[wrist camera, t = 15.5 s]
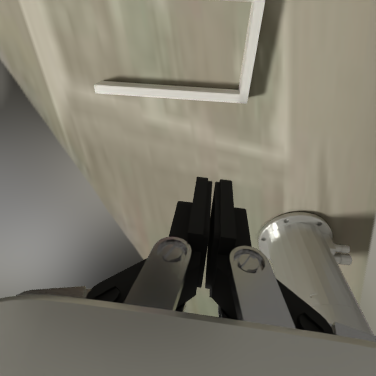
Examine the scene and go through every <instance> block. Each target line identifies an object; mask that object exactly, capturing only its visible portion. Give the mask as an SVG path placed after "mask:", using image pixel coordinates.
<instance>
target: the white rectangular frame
mask: <svg viewBox="0 0 376 376" xmlns="http://www.w3.org/2000/svg"><path fill="white" fill-rule="evenodd" d="M220 1H240V2H252V4H251V10H250V17H249V23H248V30H247V36H246V43H245V50H244V56H243V63H242V69H241V76H240V82H239V89H238V90H234V89H219V88H203V87H188V86H173V85H158V84H143V83H127V82H112V81H100V82H98V83H97V84H95V85H94V87H95V93H100V94H114V95H129V96H144V97H158V98H173V99H187V100H202V101H217V102H231V103H246V104H247V100H248V95H249V89H250V83H251V78H252V72H253V67H254V61H255V55H256V50H257V44H258V38H259V33H260V27H261V22H262V16H263V10H264V5H265V0H220Z"/></svg>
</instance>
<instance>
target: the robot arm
mask: <svg viewBox="0 0 376 376" xmlns="http://www.w3.org/2000/svg"><path fill="white" fill-rule="evenodd" d="M211 193H212V181H208V178H203V177H197V180H196V186H195V192H194V198H193V203H191V202H183V201H178V203H177V207H176V211H175V215H174V218H173V222H172V226H171V230H170V234H169V237H166V238H163V239H161V240H159V241H158V242H157V243H156V244H155V245H154V247H153V249H152V250H151V252H150V254H149V256H148V258H147V259H145V260H143V261H141V262H139V263H137V264H135V265H133V266H131V267H130V268H127V269H125V270H124V271H122V272H120V273H118V274H116V275H114V276H112V277H110V278H108V279H106V280H104V281H102V282H100V283H99V284H97V285H96V286H94V287H93V288H92V289H86V287H85V286H78V287H64V288H50V289H36V290H29V291H24V292H22V293H20V294H18V295H16V296H11V297H5V298H0V376H376V336H374V334H373V332H372V330H371V328H370V326H369V324H368V322H367V320H366V318H365V316H364V314H363V312H362V310H361V309H360V307H359V305H358V303H357V301H356V299H355V297H354V295H353V293H352V291H351V289H350V287H349V285H348V283H347V281H346V279H345V277H344V275H343V273H342V272H341V270H340V268H339V266H338V264H343V265H350V264H351V263H352V258H351V256H350V254H344V253H349V252H350V247H349V246H348V245H341V244H339V245H337V244H335V243H334V242H332V231H331V229H330V227H329V225H328V224H327V223H326V221H325V220H323V219H322V218H321V217H319V216H317V215H314V214H311V213H305V212H293V213H288V214H284V215H281V216H278V217H276V218H274V219H272V220H271V221H269V222H268V223H267V224H266V225H265V226H264V227H263V228H262V229H261V231H260V233H259V236H258V245H259V249H260V251H259V250H258V249H256V248H253V247H251V240H250V233H249V227H248V220H247V213H246V209H242V208H234V203H233V190H232V181H230V180H221V179H220V182H215V189H214V196H213V202H212V209H211ZM210 211H211V216H210ZM207 246H208V250H207ZM335 252H341V253H335ZM206 253H207V266H206V283H205V288H207V289H210V297H212V298H213V300H214V301H215V302H216V303H217V304H218V314H219V317H213V316H206V315H199V314H192V313H186V312H184V311H185V308H186V302H187V301H188V300H190V299H191V298H192V297H194V296H195V295H196V289H197V287H200V288H201V286H202V280H203V273H204V266H205V260H206ZM267 258H268V259H269V260H271V262H272V267H273V270H272V268H271V265H270V263H269V260H268V259H267ZM337 263H338V264H337ZM273 271H274V273H273Z"/></svg>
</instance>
